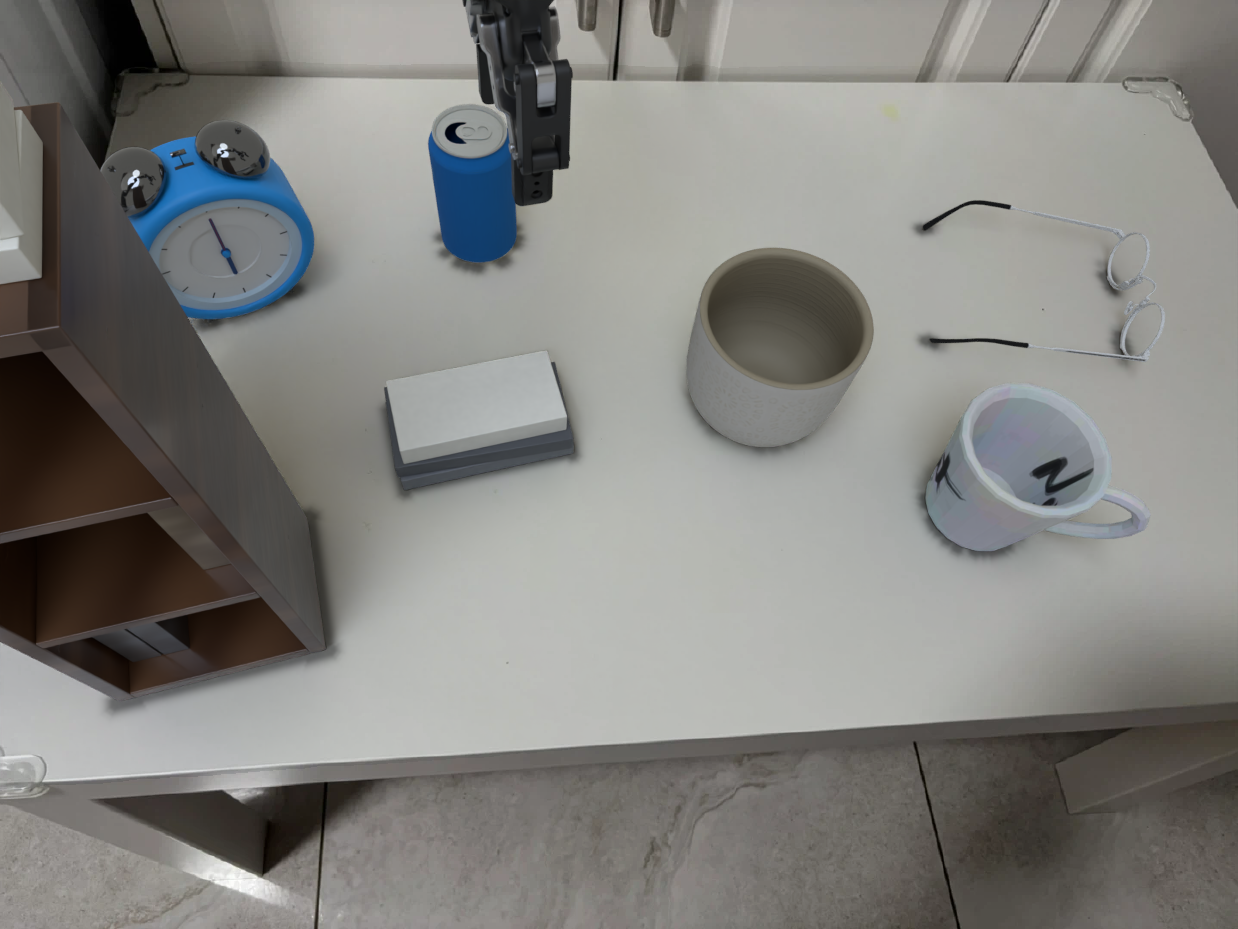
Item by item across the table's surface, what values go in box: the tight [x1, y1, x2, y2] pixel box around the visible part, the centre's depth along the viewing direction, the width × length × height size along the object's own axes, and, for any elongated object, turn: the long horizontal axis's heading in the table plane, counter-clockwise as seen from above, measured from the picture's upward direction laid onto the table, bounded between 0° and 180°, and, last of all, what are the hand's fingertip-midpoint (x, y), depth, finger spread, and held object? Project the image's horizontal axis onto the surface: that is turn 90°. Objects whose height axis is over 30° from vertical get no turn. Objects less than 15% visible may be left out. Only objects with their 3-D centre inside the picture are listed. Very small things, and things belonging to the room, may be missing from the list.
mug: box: [925, 382, 1152, 552], centre depth 62 cm, size 10×15×10 cm
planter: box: [685, 247, 875, 448], centre depth 65 cm, size 12×12×11 cm
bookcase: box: [0, 101, 327, 702], centre depth 43 cm, size 13×10×36 cm
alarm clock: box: [99, 119, 315, 324], centre depth 64 cm, size 13×6×15 cm, turn 120°
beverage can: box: [427, 103, 518, 264], centre depth 70 cm, size 6×6×12 cm
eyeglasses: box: [922, 199, 1166, 363], centre depth 75 cm, size 16×19×5 cm
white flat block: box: [385, 349, 568, 464], centre depth 63 cm, size 12×6×2 cm, turn 106°
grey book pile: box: [383, 361, 575, 491], centre depth 65 cm, size 13×8×3 cm, turn 106°
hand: (514, 148), depth 51 cm, fingers open, 8 cm apart
